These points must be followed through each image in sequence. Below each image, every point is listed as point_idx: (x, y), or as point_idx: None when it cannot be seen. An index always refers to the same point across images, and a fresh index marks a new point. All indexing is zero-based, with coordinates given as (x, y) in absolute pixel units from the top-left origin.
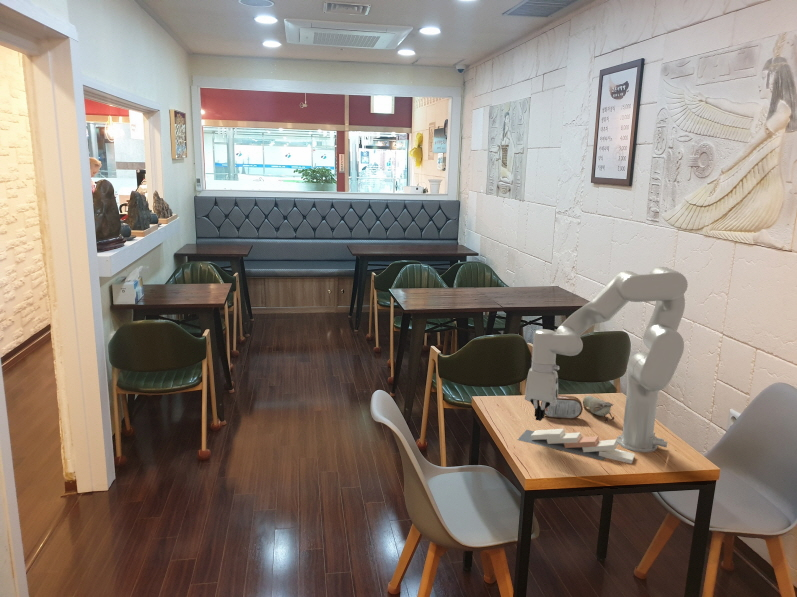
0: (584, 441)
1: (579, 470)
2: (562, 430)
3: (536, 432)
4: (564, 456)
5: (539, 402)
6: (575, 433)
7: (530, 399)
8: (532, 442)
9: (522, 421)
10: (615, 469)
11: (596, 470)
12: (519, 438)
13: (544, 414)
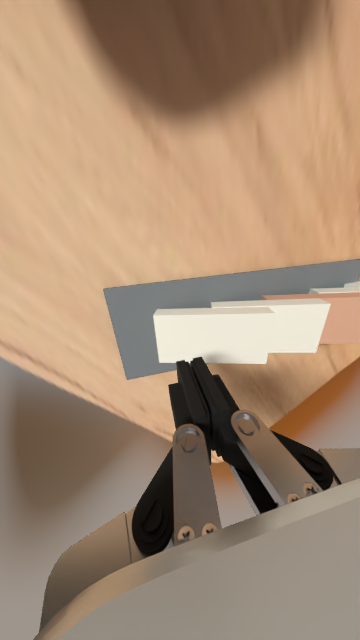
0: (328, 338)
1: (289, 396)
2: (271, 333)
3: (168, 339)
4: (258, 369)
5: (208, 461)
6: (310, 313)
7: (136, 561)
8: (171, 366)
9: (12, 184)
10: (351, 350)
11: (318, 377)
12: (126, 369)
13: (222, 385)
